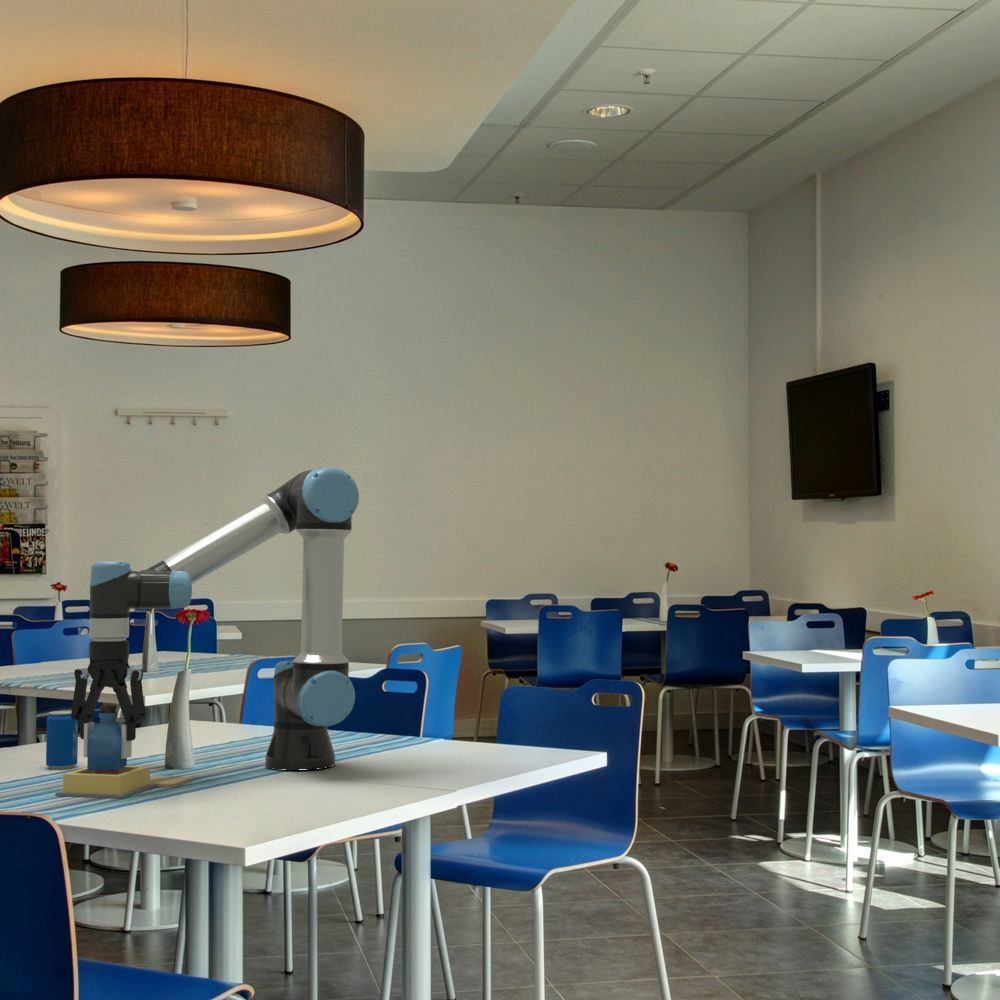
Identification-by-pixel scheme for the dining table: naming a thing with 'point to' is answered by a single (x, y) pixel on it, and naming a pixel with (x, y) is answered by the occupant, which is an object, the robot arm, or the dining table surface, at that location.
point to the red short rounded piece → (107, 772)
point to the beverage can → (61, 740)
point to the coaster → (169, 780)
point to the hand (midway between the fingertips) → (107, 756)
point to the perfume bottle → (106, 742)
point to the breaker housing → (106, 783)
